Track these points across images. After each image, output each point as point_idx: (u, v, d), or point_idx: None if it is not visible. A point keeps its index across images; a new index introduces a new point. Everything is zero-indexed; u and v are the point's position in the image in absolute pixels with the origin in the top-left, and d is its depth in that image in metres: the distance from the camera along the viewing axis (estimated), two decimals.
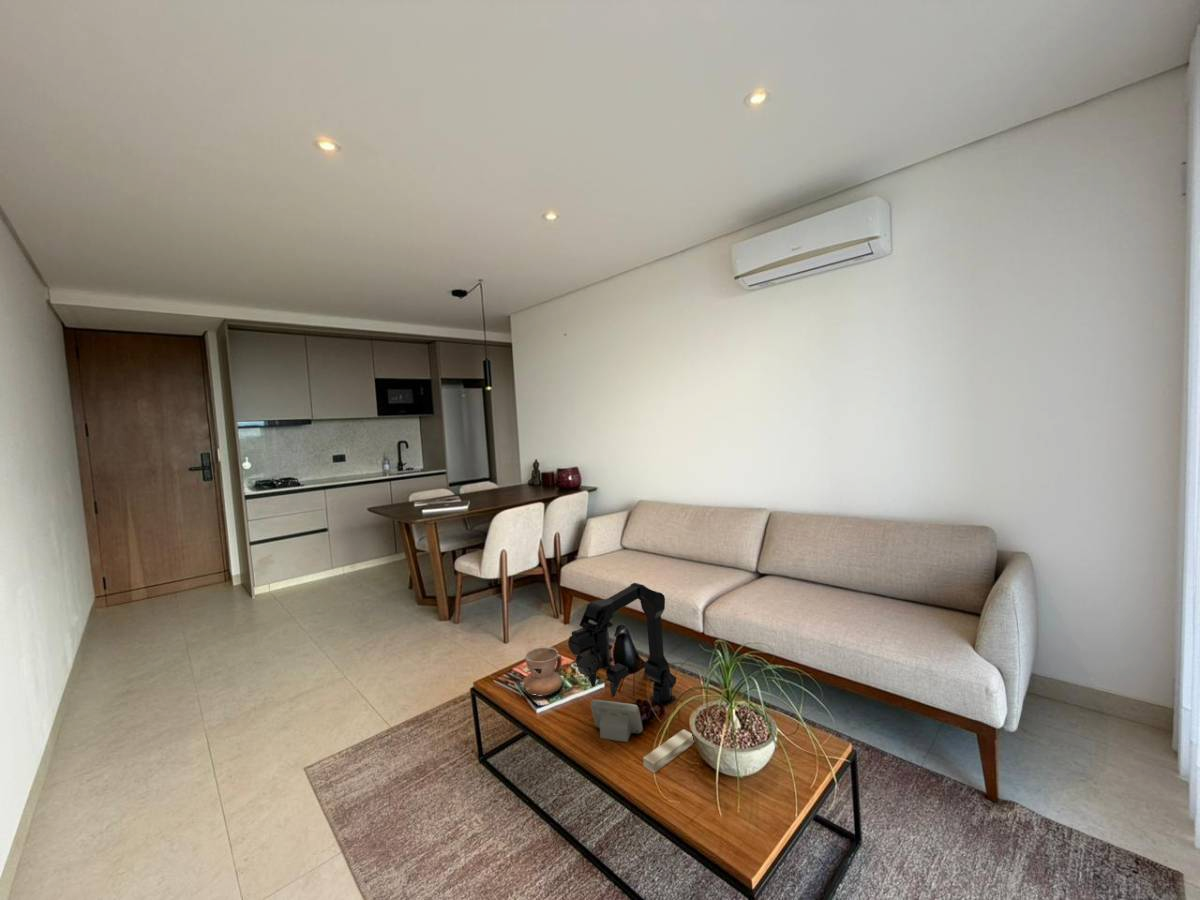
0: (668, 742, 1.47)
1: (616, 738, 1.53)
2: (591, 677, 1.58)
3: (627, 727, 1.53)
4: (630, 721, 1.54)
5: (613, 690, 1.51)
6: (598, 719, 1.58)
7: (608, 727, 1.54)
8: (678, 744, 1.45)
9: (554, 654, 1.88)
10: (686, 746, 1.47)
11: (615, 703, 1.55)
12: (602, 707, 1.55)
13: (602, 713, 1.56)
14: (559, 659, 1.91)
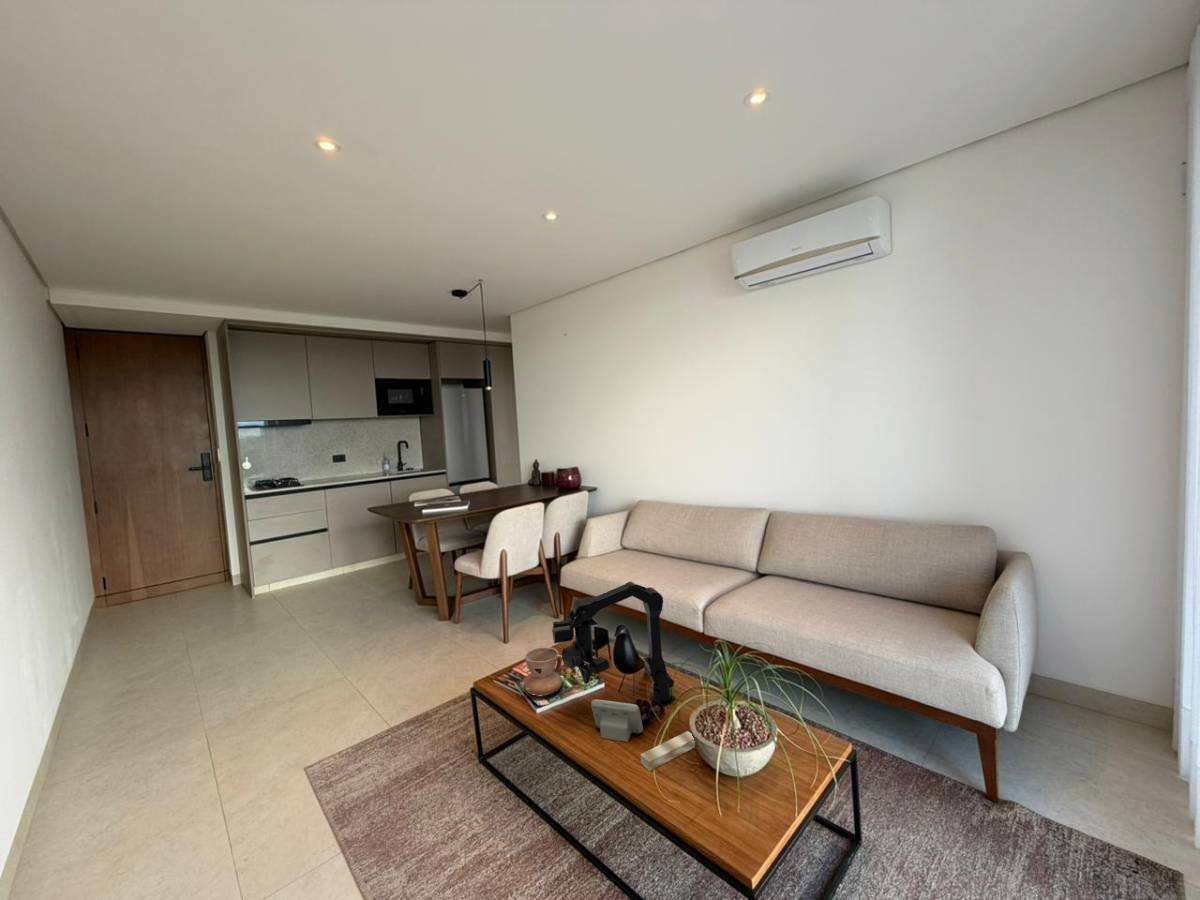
0: (669, 742, 1.47)
1: (616, 738, 1.53)
2: None
3: (627, 727, 1.53)
4: (630, 721, 1.54)
5: (586, 677, 1.66)
6: (599, 719, 1.58)
7: (609, 727, 1.54)
8: (679, 745, 1.45)
9: (554, 654, 1.88)
10: (687, 748, 1.46)
11: (615, 703, 1.55)
12: (602, 707, 1.55)
13: (602, 713, 1.56)
14: (559, 659, 1.91)
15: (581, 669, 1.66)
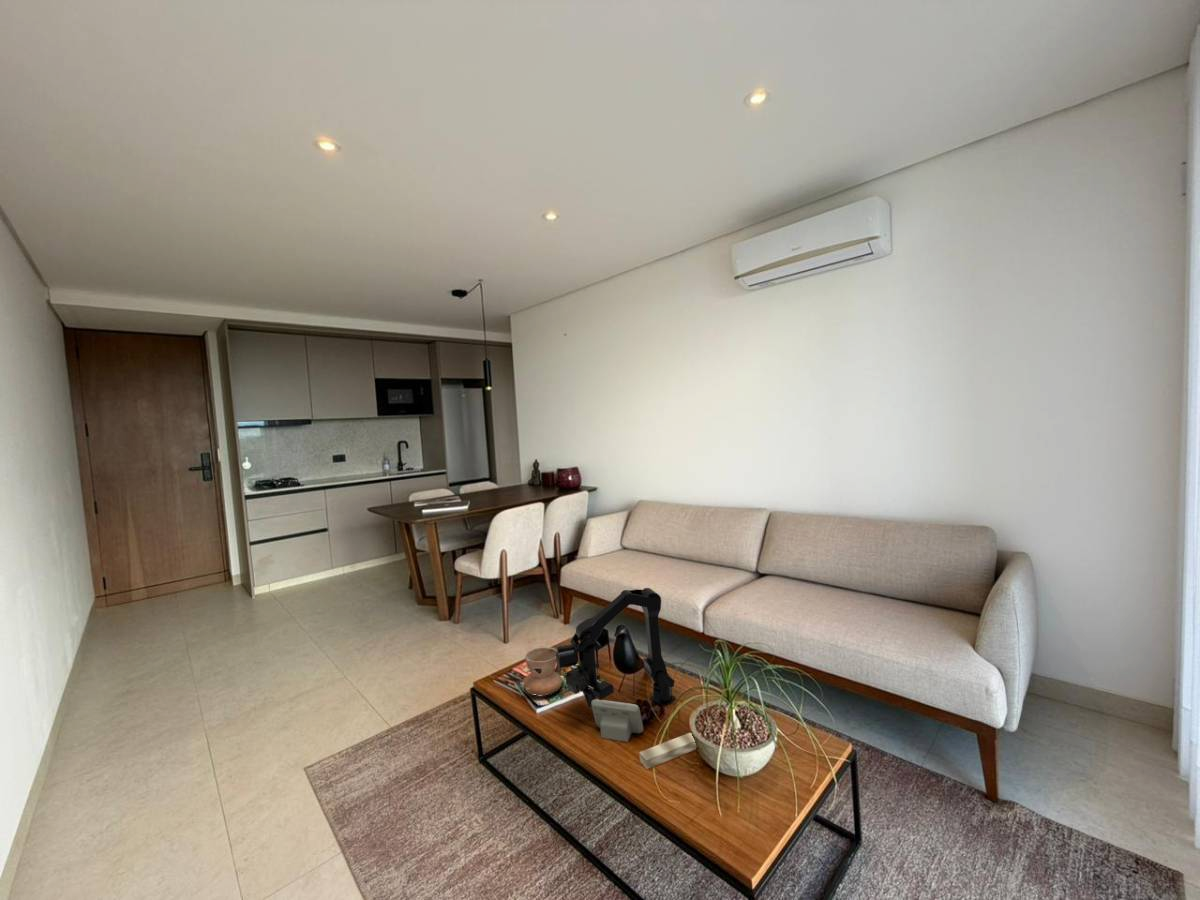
0: (669, 742, 1.47)
1: (617, 738, 1.53)
2: None
3: (628, 727, 1.53)
4: (631, 721, 1.54)
5: (591, 701, 1.65)
6: (599, 719, 1.58)
7: (609, 726, 1.54)
8: (679, 746, 1.45)
9: (554, 654, 1.88)
10: (688, 749, 1.46)
11: (616, 703, 1.55)
12: (603, 707, 1.55)
13: (603, 713, 1.56)
14: None
15: (585, 693, 1.65)
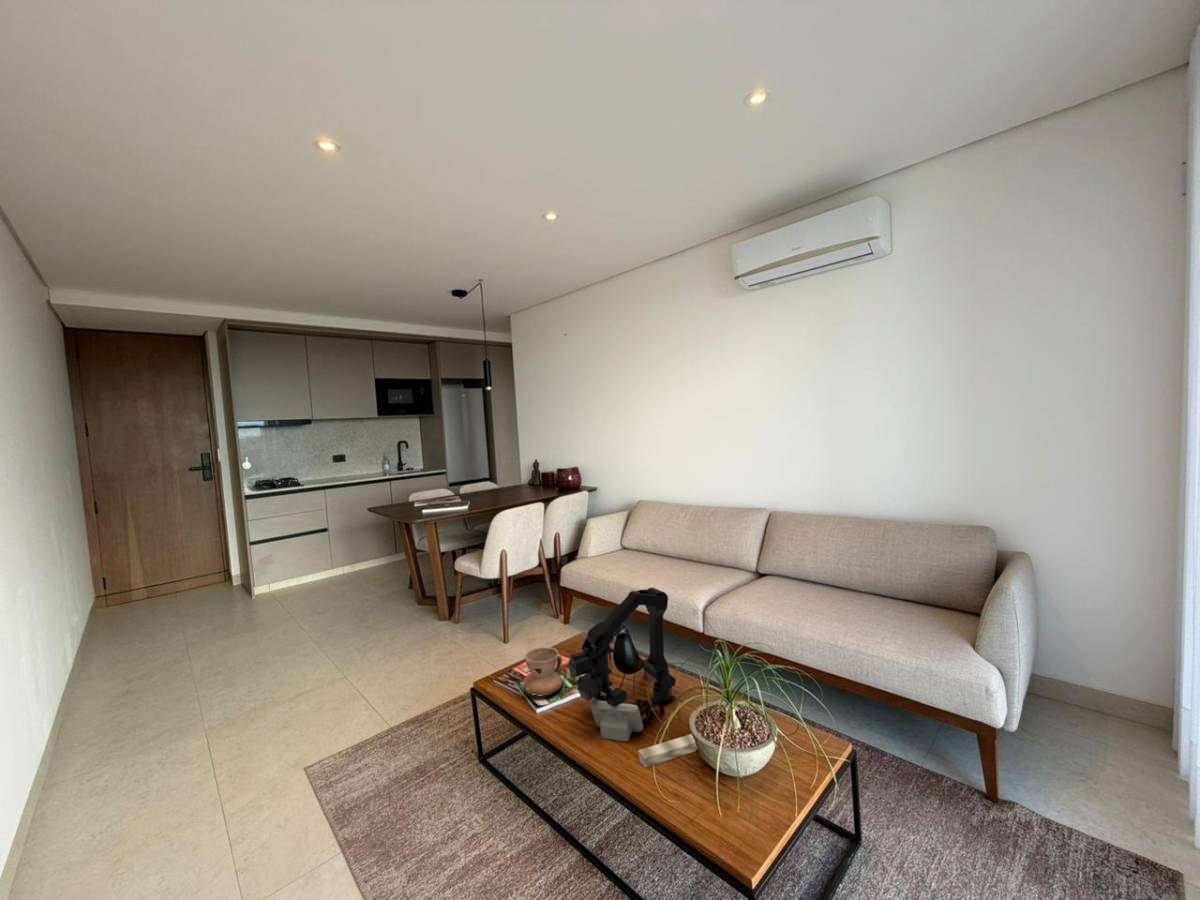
0: (670, 742, 1.47)
1: (617, 738, 1.53)
2: None
3: (627, 727, 1.53)
4: (630, 721, 1.54)
5: None
6: (599, 719, 1.58)
7: (609, 727, 1.53)
8: (679, 746, 1.44)
9: (554, 654, 1.88)
10: (689, 751, 1.45)
11: None
12: (602, 708, 1.54)
13: (602, 713, 1.55)
14: (559, 659, 1.91)
15: None
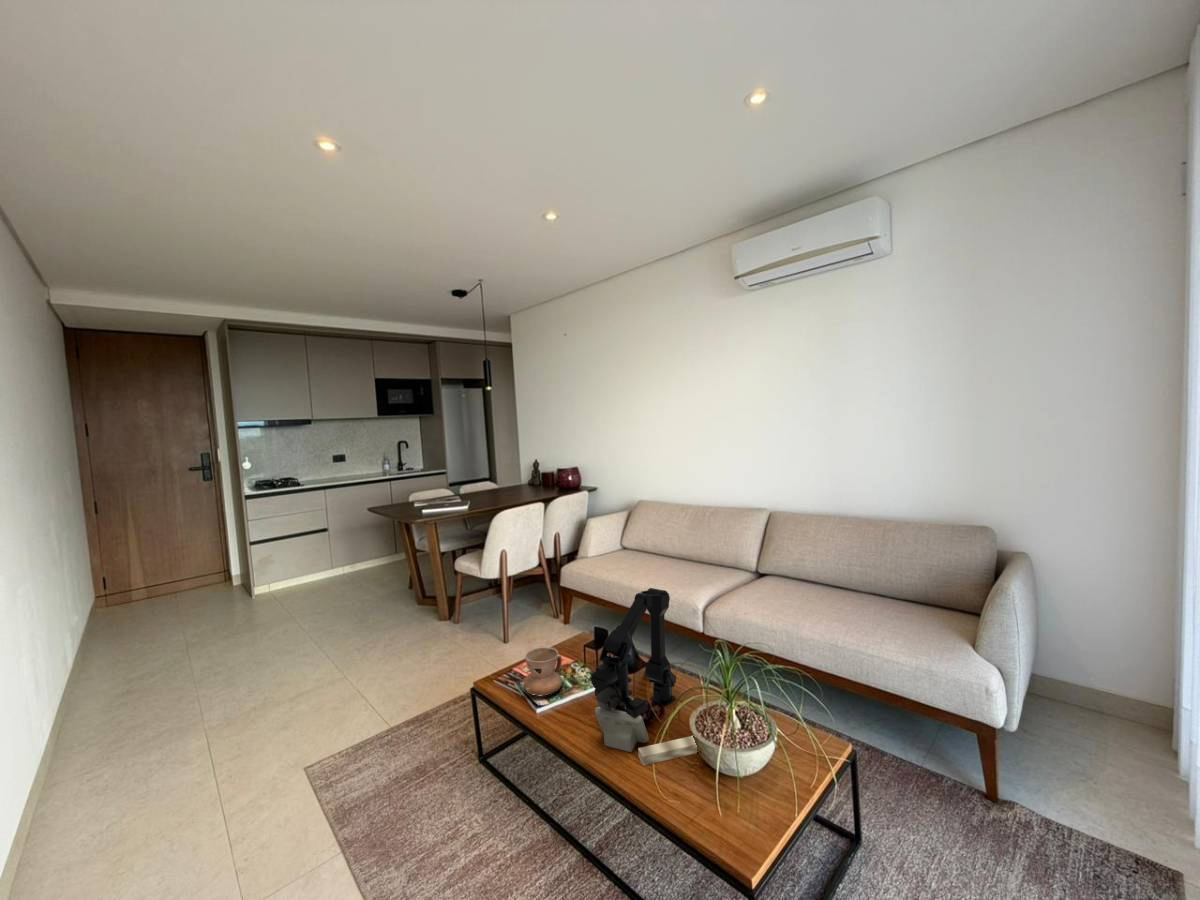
0: (670, 742, 1.46)
1: (620, 747, 1.48)
2: None
3: (631, 737, 1.47)
4: (634, 731, 1.48)
5: None
6: (604, 726, 1.54)
7: (612, 736, 1.49)
8: (678, 747, 1.44)
9: (554, 654, 1.88)
10: (689, 752, 1.45)
11: (619, 712, 1.49)
12: (606, 715, 1.50)
13: (606, 721, 1.51)
14: (559, 659, 1.91)
15: None
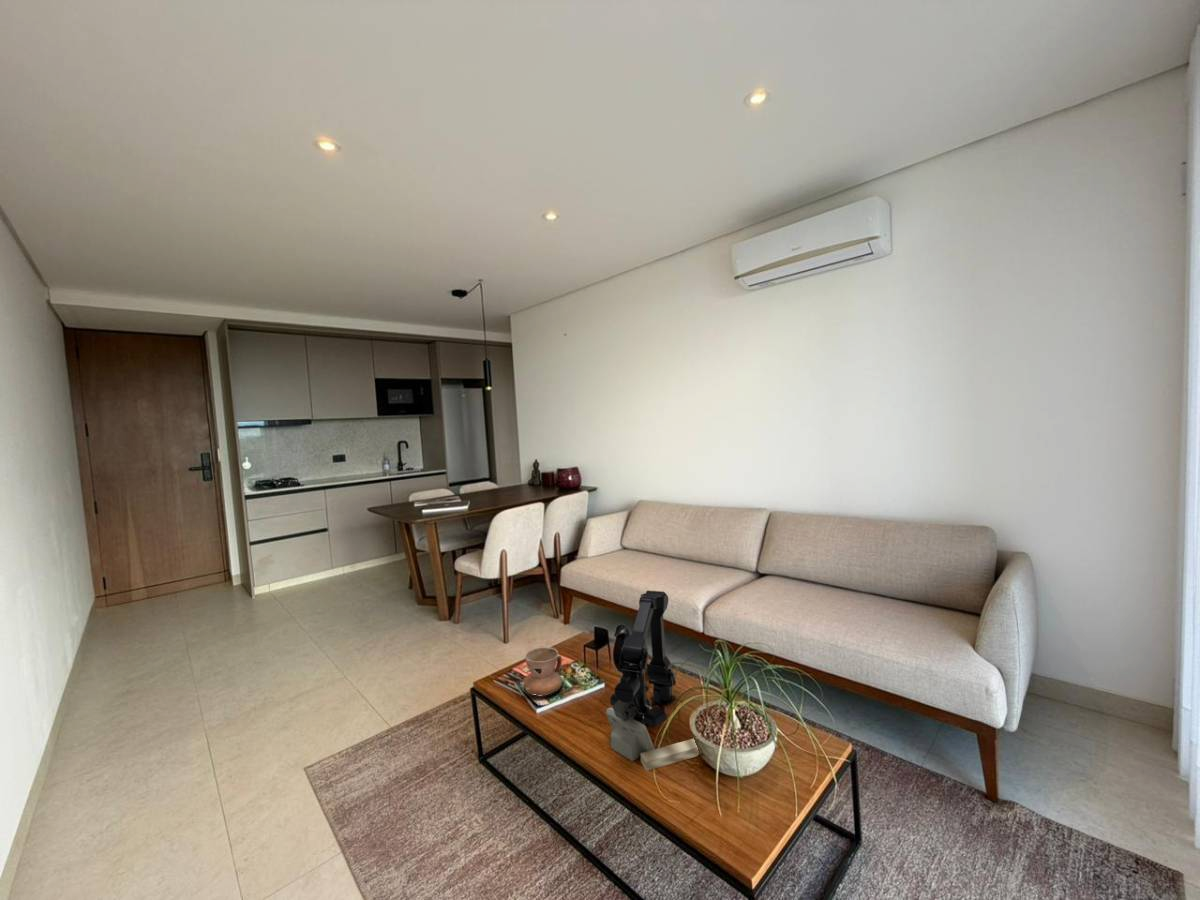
0: (672, 746, 1.45)
1: (623, 753, 1.46)
2: None
3: (634, 746, 1.44)
4: (639, 740, 1.44)
5: None
6: None
7: (617, 739, 1.47)
8: (681, 750, 1.42)
9: (554, 654, 1.88)
10: (691, 755, 1.43)
11: None
12: (614, 717, 1.49)
13: (615, 724, 1.50)
14: (559, 659, 1.91)
15: None
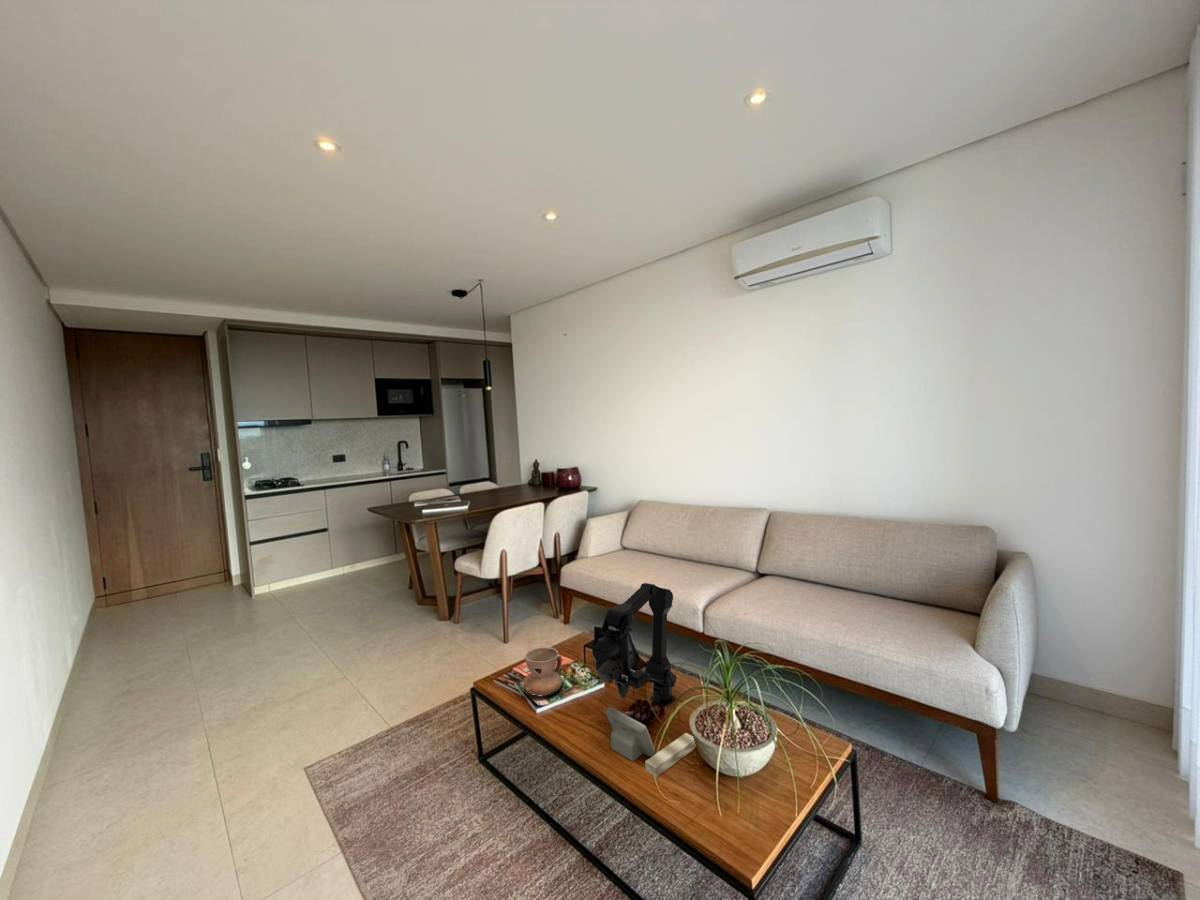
0: (670, 746, 1.45)
1: (623, 754, 1.45)
2: None
3: (634, 746, 1.44)
4: (639, 741, 1.44)
5: (624, 691, 1.54)
6: None
7: (617, 739, 1.47)
8: (681, 748, 1.44)
9: (554, 654, 1.88)
10: (689, 750, 1.45)
11: (626, 717, 1.47)
12: (614, 717, 1.49)
13: (615, 724, 1.50)
14: (559, 659, 1.91)
15: (618, 683, 1.55)
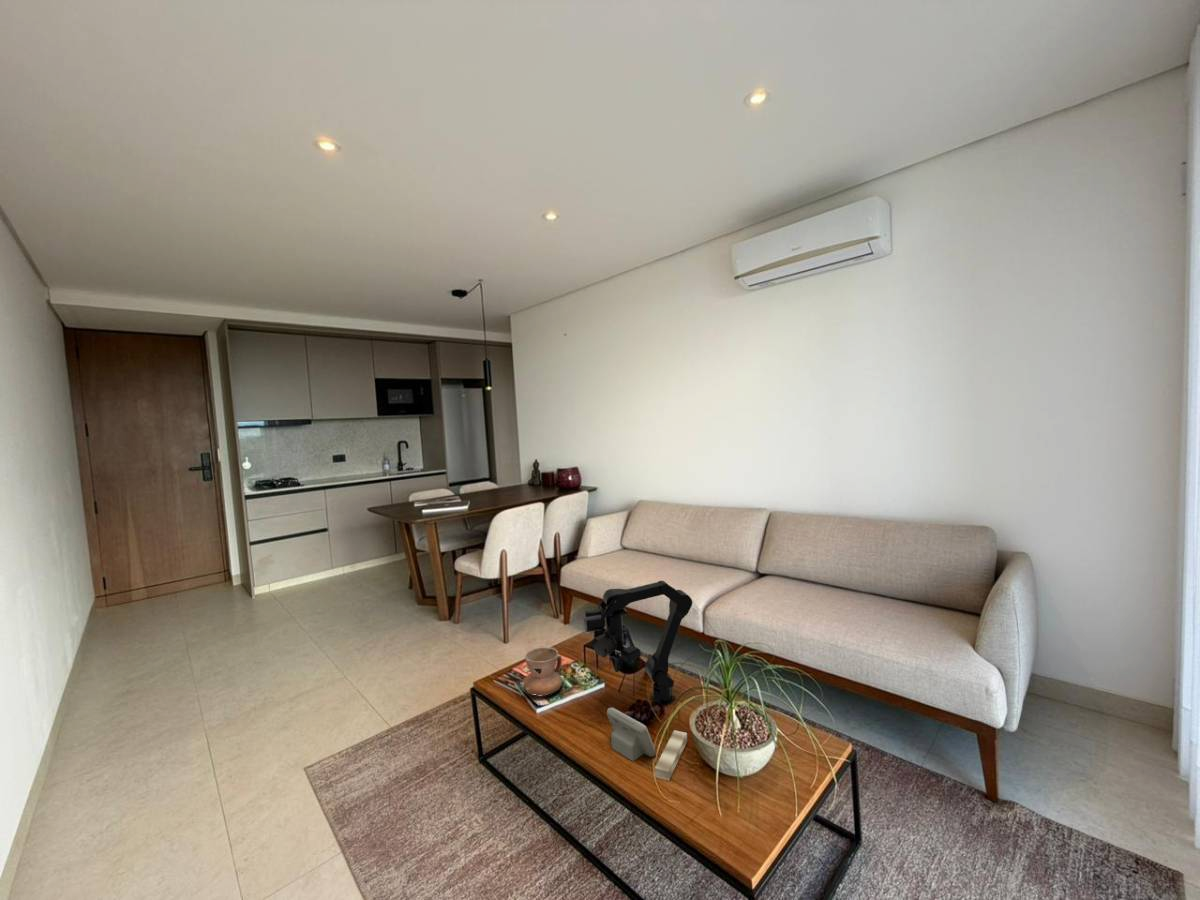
0: (668, 746, 1.45)
1: (624, 754, 1.45)
2: None
3: (634, 746, 1.44)
4: (639, 741, 1.44)
5: (617, 666, 1.69)
6: None
7: (618, 739, 1.47)
8: (679, 745, 1.45)
9: (554, 654, 1.88)
10: (683, 746, 1.47)
11: (627, 717, 1.47)
12: (615, 717, 1.49)
13: (616, 724, 1.50)
14: (559, 659, 1.91)
15: (612, 658, 1.69)
